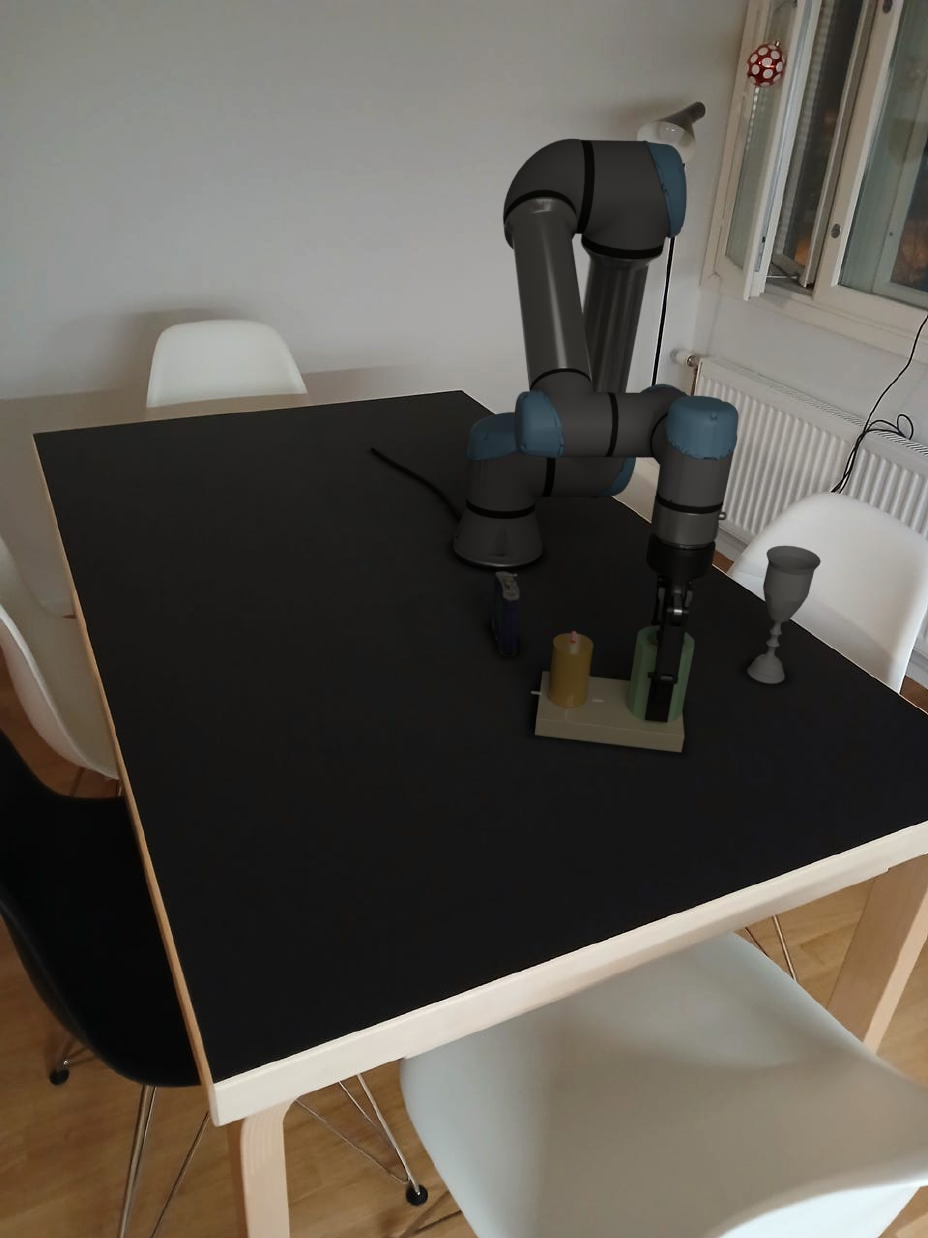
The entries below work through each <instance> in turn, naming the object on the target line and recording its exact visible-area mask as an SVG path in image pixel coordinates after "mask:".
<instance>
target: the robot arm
mask: <svg viewBox="0 0 928 1238" xmlns="http://www.w3.org/2000/svg"><path fill="white" fill-rule="evenodd" d="M506 192H507V193H506V196H505V199H504V202H503V210H502V224H503V226H502V227H503V233H504V238H505V241H506V243H507V245H508V246H509V247H510V248H511V249H512V250H513V254H514V263H515V272H516V273H515V274H516V281H517V282H516V283H517V290H518V299H519V300H518V301H519V309H520V317H521V327H522V337H523V346H524V355H525V364H526V372H527V382H528V389H529V390H525V391H522V392H520V393H519V394H518V396H517V397H516V400H515V405H514V411H507V412H500V413H499V412H498V413H494V414H491V415H488V416H484V417H483V418H481V419H480V420H478V421H476V422H475V423H474V424H473V425H472V427H471V428H470V431H469V436H468V445H467V449H466V457H467V467H466V469H467V471H466V488H465V506H464V510H463V513H462V515H461V514H460V513H459V512H458V511H457V509H456V508H455V507H454V505H453V504H452V502H451V501H450V499H448V497H447V496H446V495H445V494H444V493H443V492H442V491H441V490H440V489H439V488H438V487H437V486H436V485H435V484H433V483H432V482H430V481H429V480H427V479H425V478H424V477H422V476H420V475H419V474H417V473H416V472H414V471H412V470H411V469H408V468H407V467H406V466H403V465H401V464H399V463H397V462H395V461H394V460H392V459H390V458H388V456H385V455H384V454H383V453H381V452H380V451H378V450H377V449H376V448H374V447H371V448H370V451H371V452H373V453H374V454H375V455H377V456H378V457H380V459H382V460H384V461H385V462H387V463H388V464H389V465H392V466H393V467H396V468H397V469H399V470H401V471H403V472H404V473H406V474H407V475H410V476H412V477H414V478H415V479H417V480H419V481H420V482H422V483H424V484H425V485H427V486H428V487H429V488H430V489H432V490H433V492H435V493H437V495H438V496H439V497H440V498H441V499H442V500H443V501H444V502H445V504H447V506H448V508H449V509H450V510H451V512H452V514H453V515H454V516H455V517H456V518H457V519H458V520H460V521H459V523H458V525H457V529H456V531H455V533H454V536H453V540H452V552H453V555H454V556H455V557H456V558H457V560H458V561H460V562H462V563H464V564H466V565H468V566H470V567H473V568H476V569H481V570H484V571H491V572H492V571H494V572H500V571H505V572H512V571H519V570H523V569H527V568H530V567H533V565H536V564H537V563H539V561H540V560H541V559H542V557H543V547H544V546H543V539H542V536H541V534H540V530H539V525H538V520H537V516H536V503H537V498H591V499H599V498H603V497H604V498H605V497H616V496H618V495H620V494H622V493H623V492H624V491H625V490H626V489H627V487H628V485H629V484H630V482H631V480H632V477H633V474H634V471H635V467H636V463H637V459H638V458H639V459H640V458H642V459H643V458H644V459H645V458H648V459H654V460H655V462H656V463H657V464H658V465H659V470H658V475H657V476H658V477H657V483H656V484H657V485H656V490H655V495H654V500H653V507H652V512H651V513H652V514H651V520H650V526H649V528H650V531H651V533H650V534H649V537H648V543H647V549H646V556H645V561H646V564H647V566H648V567H649V568H650V569H651V570H652V571H654V572H655V573H657V577H656V592H655V604H654V609H653V615H652V619H651V622H650V623H651V624H650V625H651V626H656V625H660V630H659V638H658V646H657V654H656V662H655V670H654V671H653V672H648V678H651V683H650V689H649V695H648V701H647V707H646V713H645V720H648V721H656V722H665V723H667V722H668V717H669V711H670V705H671V700H672V694H673V689H674V684H677V682H678V679H679V678H678V674H679V667H680V661H681V655H682V649H683V642H684V636H685V632H686V630H687V629H686V628H687V624H688V620H689V616H690V614H691V610H690V603H691V602H692V601H693V597H694V587H693V586H692V583H693V580H695V579H701V578H703V577H705V576H707V575H708V574H709V573H710V572H711V570H712V568H713V562H714V557H715V553H716V548H717V547H716V546H717V543H716V541H715V540H716V539H717V538H718V534H719V528H720V522H719V521H725V520H726V519H727V511H723V506H724V502H725V497H726V493H727V487H728V483H729V478H730V473H731V469H732V468H731V467H732V462H733V458H734V452H735V449H736V447H737V442H738V425H739V418H740V417H739V416H740V415H739V412H738V409H737V408H736V406H734V405H733V404H732V403H731V402H728V401H725V400H722V399H720V398H718V397H714V396H707V395H689V394H687V393H686V391H682V390H681V389H680V388H678V387H676V386H674V385H672V384H667V383H656V384H652V385H649V386H648V387H646V388H644V389H642V390H641V391H640V392H627V389H628V388H627V387H628V383H629V377H630V371H631V366H632V362H633V361H632V360H633V355H634V351H635V350H634V349H635V344H636V338H637V334H638V327H639V323H640V317H641V312H642V306H643V300H644V295H645V291H646V284H647V279H648V274H649V267H650V264H651V263H652V262H654V261H655V260H656V259H658V258H660V257H661V256H662V255H663V253H664V248H665V247H664V246H665V243H666V239H667V238H668V239H673V238H676V237H678V236H679V235H680V234H681V231H682V228H683V227H684V223H685V221H686V220H685V219H686V213H687V202H688V201H687V199H688V196H687V195H688V191H687V177H686V170H685V165H684V161H683V159H682V156H681V154H680V152H679V151H678V150H677V149H676V147H674V146H673V145H672V144H668V143H661V142H660V143H659V142H653V141H648V140H644V139H643V140H609V139H605V140H604V139H580V138H563V139H560V140H555V141H553V142H550V143H548V144H546V145H545V146H543V147H541V148H540V149H538V150H537V151H536V152H534V153H533V154H532V155H531V156H530V157H529V158H528V159H527V160H525V162H524V163H523V164H522V165H521V167H520V168H519V169H518V171H517V172H516V174H515V175H514V178H513V179H512V181H511V183H510V185H509V188H508V190H507V191H506ZM576 235H581V236H580V246H581V248H582V249H583V250H584V251H585V252H586V254H587V255H588V263H587V270H586V278H585V285H584V292H583V299H581V294H580V286H579V278H578V271H577V266H576V265H577V264H576V259H575V250H574V244H573V239H574V238H575V236H576ZM581 300H582V301H581Z"/></svg>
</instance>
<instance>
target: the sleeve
mask: <svg viewBox="0 0 928 1238" xmlns="http://www.w3.org/2000/svg"><path fill="white" fill-rule="evenodd" d="M658 630H660V625H656V626H652V625H649V626H645V627H643V628H642V629H641V630H639V631H638V632H637V636H636V643H635V650H634V656H633V663H632V669H631V676H630V680H629V681H630V688H629V694H628V701H627V708H628V709H629V710H630V712H631V713H632V714H633V715H634V716H636V717H638V718H640V719H642V720H644V721H648V720H645V713H646V707H647V701H648V695H649V689H650V683H651V678H648V672H653V671H654V670H655V662H656V654H657V647H656V646H654V640H655V637H656V635H657V631H658ZM694 649H695V639H694V638H693V637H692V636H691V635H690V634H689V633H688V632H686V631H685V636H684V642H683V649H682V655H681V661H680V667H679V674H678V678H679V679H678V682H677V684H674V689H673V694H672V700H671V705H670V711H669V717H668V722H673V721H675V720H676V719H677V718H679V717H680V716H681V714H682V715H683V709H684V703H685V697H686V692H687V688H688V683H689V682H688V681H689V676H690V672H691V665H692V661H693V655H694ZM648 722H654V723H665V722H656V721H648Z"/></svg>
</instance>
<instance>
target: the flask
mask: <svg viewBox="0 0 928 1238" xmlns="http://www.w3.org/2000/svg"><path fill="white" fill-rule="evenodd" d="M514 577H515V578H516V577H518V573H516V572H514V573H511V572H509V571H496V572H494V581H493V585H494V586H493V604H492V615H491V616H492V617H491V631H493V632H494V638H495V640H496V641H498V642H497V645H498V646H499V647H498V649H499V653H500V654H501V655H504V656H505V657H512V656H515V655H516V654H517V652H518V632H519V631H518V630H519V615H520V614H519V613H520V603H521V602H520V601H521V591H520V588H519V585H518V583H517V581H516V579H515V578H514Z"/></svg>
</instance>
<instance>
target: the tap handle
mask: <svg viewBox="0 0 928 1238" xmlns="http://www.w3.org/2000/svg"><path fill="white" fill-rule="evenodd" d="M593 654H594V642H593V640H592V639H590V638H589V637H588V636H586V635H584V634H581V633H577V631H575V630H571V632H566V633H560V634H558V635H556V636H555V637H554V638H553V641H552V647H551V657H550V667H549V672H550V675H549V685H548V698H549V700H550V701H551V702H552V703H554V704H556V705H558V706H561V707H566V708H574V707H579V706H581V705H583V704H584V703H585V702H586V700H587V693H588V685H589V677H591V669H592V661H593Z"/></svg>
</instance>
